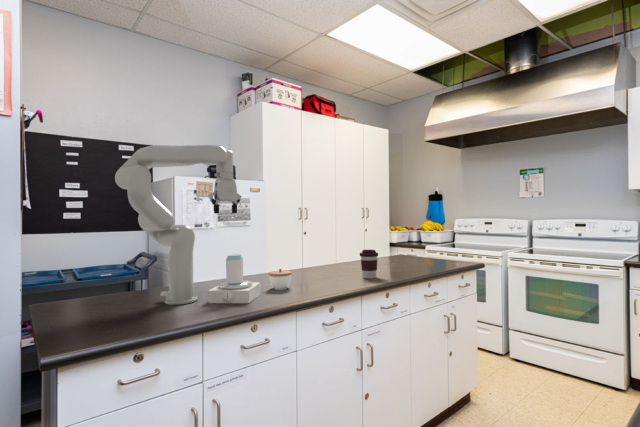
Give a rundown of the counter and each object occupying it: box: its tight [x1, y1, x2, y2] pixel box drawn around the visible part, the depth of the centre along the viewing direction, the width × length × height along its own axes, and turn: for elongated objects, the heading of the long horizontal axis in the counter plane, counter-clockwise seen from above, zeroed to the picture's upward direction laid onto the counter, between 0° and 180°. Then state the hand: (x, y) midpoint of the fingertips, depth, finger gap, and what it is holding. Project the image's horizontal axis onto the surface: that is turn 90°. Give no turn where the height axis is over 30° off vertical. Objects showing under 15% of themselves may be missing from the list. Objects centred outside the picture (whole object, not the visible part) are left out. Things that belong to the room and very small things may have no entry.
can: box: [225, 254, 244, 285], centre depth 149 cm, size 7×7×12 cm
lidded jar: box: [268, 268, 293, 291], centre depth 167 cm, size 11×11×9 cm
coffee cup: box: [359, 249, 379, 280], centre depth 190 cm, size 10×10×15 cm
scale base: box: [207, 282, 262, 304], centre depth 148 cm, size 17×18×5 cm
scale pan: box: [217, 279, 253, 289], centre depth 149 cm, size 14×14×1 cm
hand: (225, 213), depth 164 cm, fingers open, 9 cm apart
